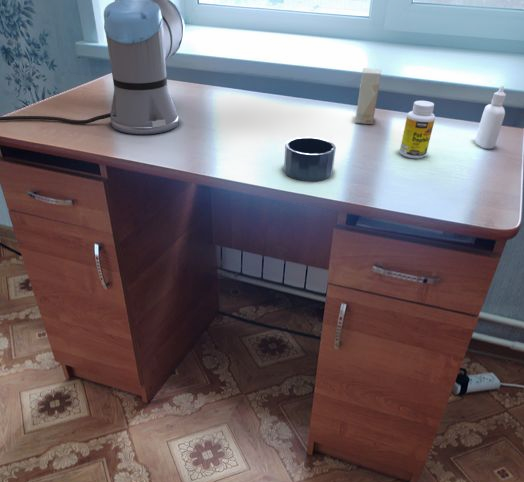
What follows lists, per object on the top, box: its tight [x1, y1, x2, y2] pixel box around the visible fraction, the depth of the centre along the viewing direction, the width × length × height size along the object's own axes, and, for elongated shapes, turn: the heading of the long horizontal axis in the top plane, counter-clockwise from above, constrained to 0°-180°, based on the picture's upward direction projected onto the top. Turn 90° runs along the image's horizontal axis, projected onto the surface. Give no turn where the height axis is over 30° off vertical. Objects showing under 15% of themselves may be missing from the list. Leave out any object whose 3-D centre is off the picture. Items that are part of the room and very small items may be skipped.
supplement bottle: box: [399, 100, 436, 159], centre depth 104 cm, size 6×6×10 cm
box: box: [355, 67, 382, 125], centre depth 120 cm, size 5×4×11 cm
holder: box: [283, 136, 336, 182], centre depth 97 cm, size 9×9×5 cm
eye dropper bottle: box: [474, 85, 507, 150], centre depth 109 cm, size 4×6×12 cm
